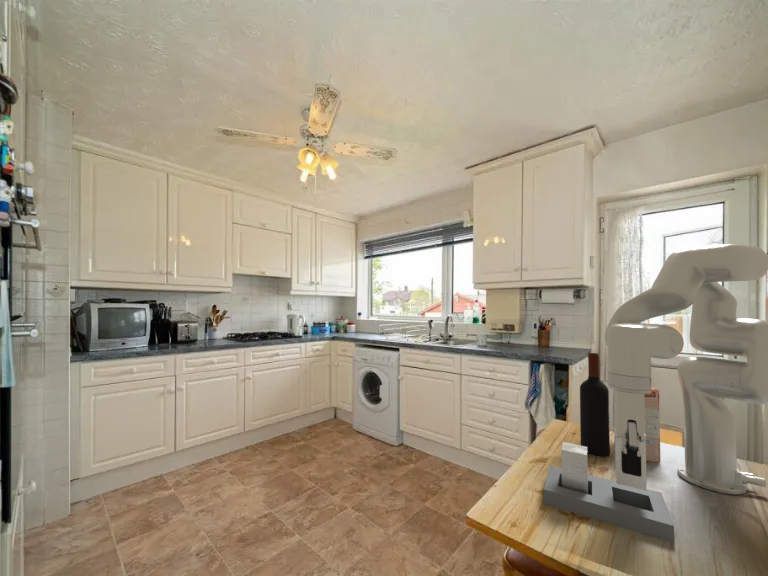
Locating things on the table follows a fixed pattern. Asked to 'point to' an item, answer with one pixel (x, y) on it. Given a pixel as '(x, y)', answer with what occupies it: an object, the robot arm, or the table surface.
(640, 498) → the tray
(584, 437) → the wine bottle
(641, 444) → the loose billet
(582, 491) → the block
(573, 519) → the table surface
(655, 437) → the cracker box
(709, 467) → the robot arm
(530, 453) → the table surface
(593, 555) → the table surface
